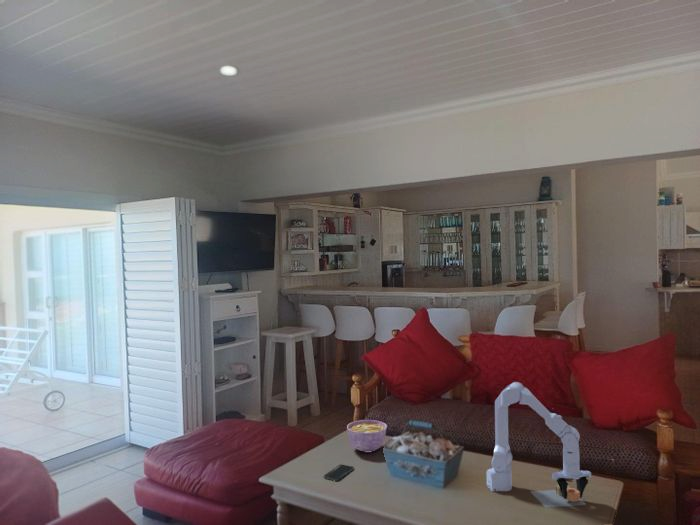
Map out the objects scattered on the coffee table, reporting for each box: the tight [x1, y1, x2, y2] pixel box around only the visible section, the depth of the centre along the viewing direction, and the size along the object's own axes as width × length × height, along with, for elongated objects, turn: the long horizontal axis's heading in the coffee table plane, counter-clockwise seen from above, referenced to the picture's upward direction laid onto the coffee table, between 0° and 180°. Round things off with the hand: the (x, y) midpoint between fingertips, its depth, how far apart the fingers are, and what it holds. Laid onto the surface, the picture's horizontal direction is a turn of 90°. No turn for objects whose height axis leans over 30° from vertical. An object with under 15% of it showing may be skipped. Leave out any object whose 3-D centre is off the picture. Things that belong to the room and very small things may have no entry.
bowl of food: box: [346, 419, 388, 452], centre depth 257 cm, size 20×20×12 cm
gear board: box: [530, 489, 587, 509], centre depth 198 cm, size 16×13×4 cm
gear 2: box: [567, 487, 581, 501], centre depth 195 cm, size 6×6×3 cm
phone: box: [323, 464, 355, 482], centre depth 229 cm, size 8×1×15 cm
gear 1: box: [555, 483, 572, 496], centre depth 201 cm, size 6×6×4 cm
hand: (571, 497), depth 195 cm, fingers closed on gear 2, 5 cm apart
